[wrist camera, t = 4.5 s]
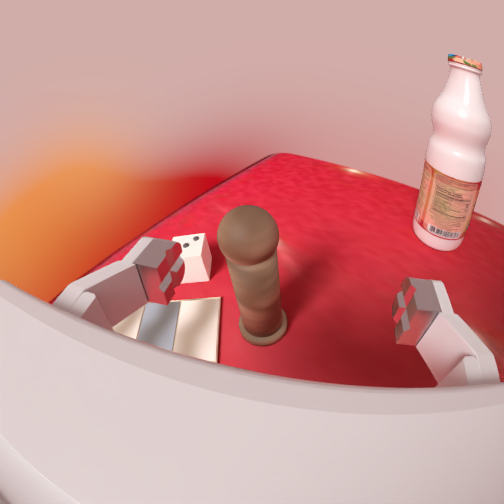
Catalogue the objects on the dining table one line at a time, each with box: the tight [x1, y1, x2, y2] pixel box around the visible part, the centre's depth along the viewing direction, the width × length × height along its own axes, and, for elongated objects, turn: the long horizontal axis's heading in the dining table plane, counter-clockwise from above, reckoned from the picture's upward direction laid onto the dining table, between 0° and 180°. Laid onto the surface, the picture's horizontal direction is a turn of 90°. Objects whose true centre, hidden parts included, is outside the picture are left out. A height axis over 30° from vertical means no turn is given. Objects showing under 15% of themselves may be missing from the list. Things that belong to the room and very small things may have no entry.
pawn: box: [217, 205, 287, 346], centre depth 25 cm, size 5×5×15 cm
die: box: [172, 233, 212, 283], centre depth 37 cm, size 5×5×5 cm
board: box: [112, 297, 221, 363], centre depth 31 cm, size 20×9×1 cm, turn 91°
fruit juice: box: [413, 54, 492, 251], centre depth 28 cm, size 9×9×28 cm
